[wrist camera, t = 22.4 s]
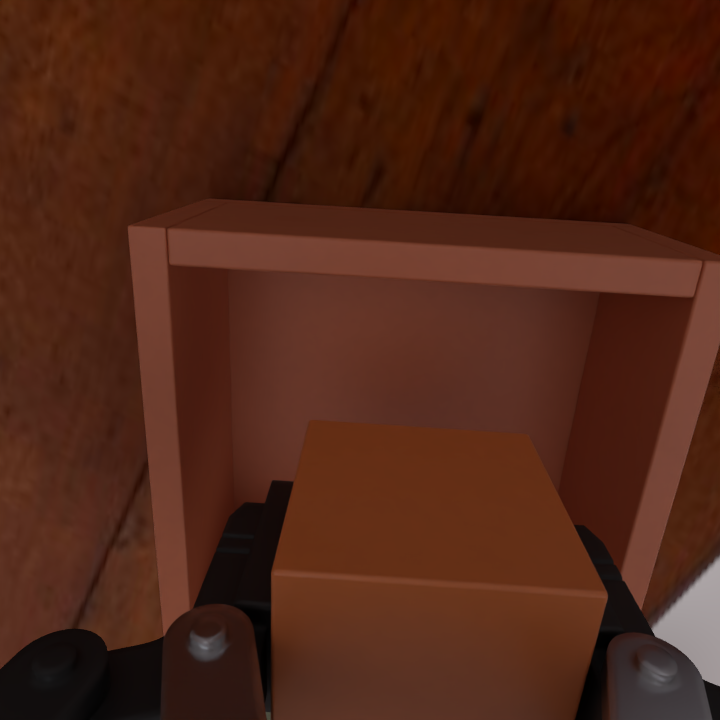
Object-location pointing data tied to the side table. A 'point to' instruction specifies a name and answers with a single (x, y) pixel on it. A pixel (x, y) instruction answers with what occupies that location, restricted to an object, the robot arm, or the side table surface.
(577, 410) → the terracotta bin
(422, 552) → the block
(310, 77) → the side table surface
